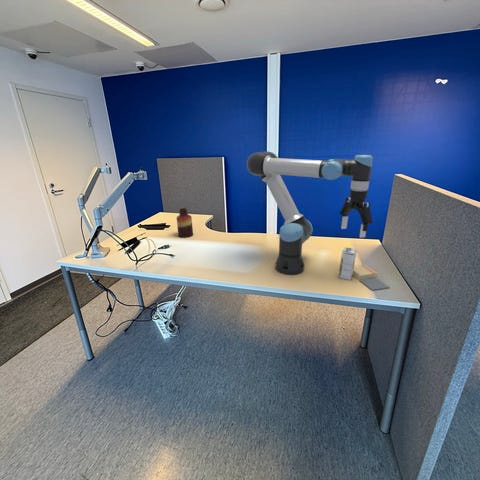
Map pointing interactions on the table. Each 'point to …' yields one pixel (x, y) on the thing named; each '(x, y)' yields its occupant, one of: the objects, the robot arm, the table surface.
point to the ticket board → (363, 272)
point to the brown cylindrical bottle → (184, 224)
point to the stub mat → (374, 284)
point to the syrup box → (347, 263)
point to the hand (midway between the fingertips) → (352, 232)
